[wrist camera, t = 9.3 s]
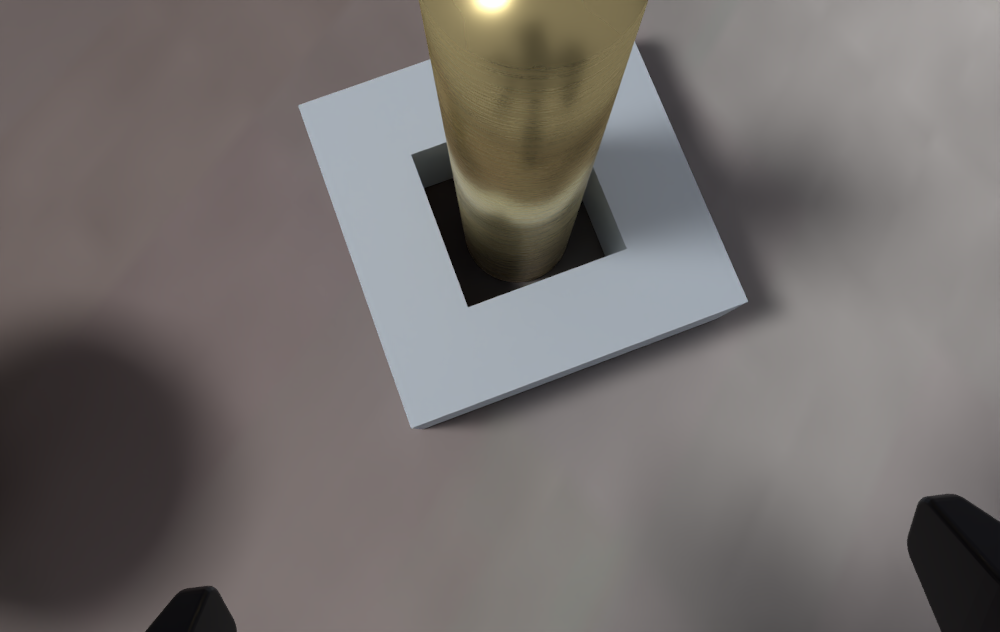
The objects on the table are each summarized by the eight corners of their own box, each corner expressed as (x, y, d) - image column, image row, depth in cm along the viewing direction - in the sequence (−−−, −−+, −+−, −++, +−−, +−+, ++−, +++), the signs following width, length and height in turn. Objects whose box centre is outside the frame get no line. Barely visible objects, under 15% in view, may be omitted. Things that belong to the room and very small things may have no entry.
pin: (590, 239, 24) (707, -29, 10) (508, 303, 24) (514, 116, 10) (524, 161, 24) (552, -196, 11) (443, 223, 24) (363, -64, 10)
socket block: (717, 318, 24) (748, 301, 21) (423, 429, 23) (411, 428, 20) (601, 47, 25) (614, -6, 22) (322, 145, 25) (297, 105, 22)
